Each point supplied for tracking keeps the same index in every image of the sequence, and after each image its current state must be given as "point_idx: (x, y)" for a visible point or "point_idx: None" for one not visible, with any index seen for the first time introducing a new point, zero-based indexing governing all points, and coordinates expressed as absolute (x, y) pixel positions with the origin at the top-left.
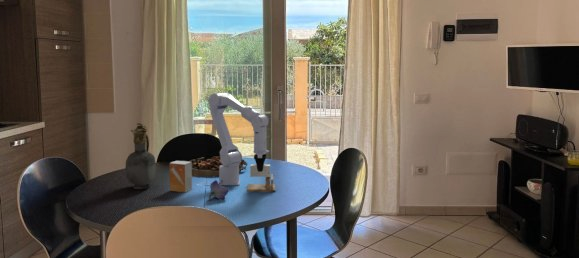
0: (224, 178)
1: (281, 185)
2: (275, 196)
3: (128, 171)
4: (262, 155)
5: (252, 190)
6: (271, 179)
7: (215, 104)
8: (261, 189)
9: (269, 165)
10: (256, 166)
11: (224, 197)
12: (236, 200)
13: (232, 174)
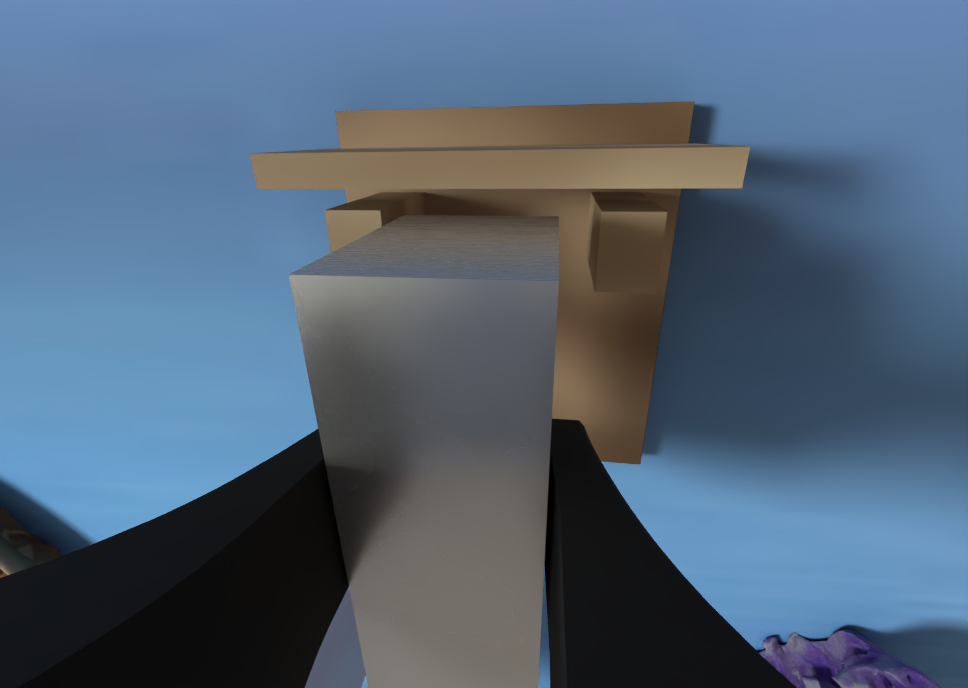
0: (357, 657)
1: (316, 5)
2: (958, 99)
3: None
4: None
5: (648, 407)
6: (740, 183)
7: None
8: (625, 307)
9: (483, 302)
10: (540, 611)
11: (871, 642)
12: (959, 549)
13: (337, 649)
